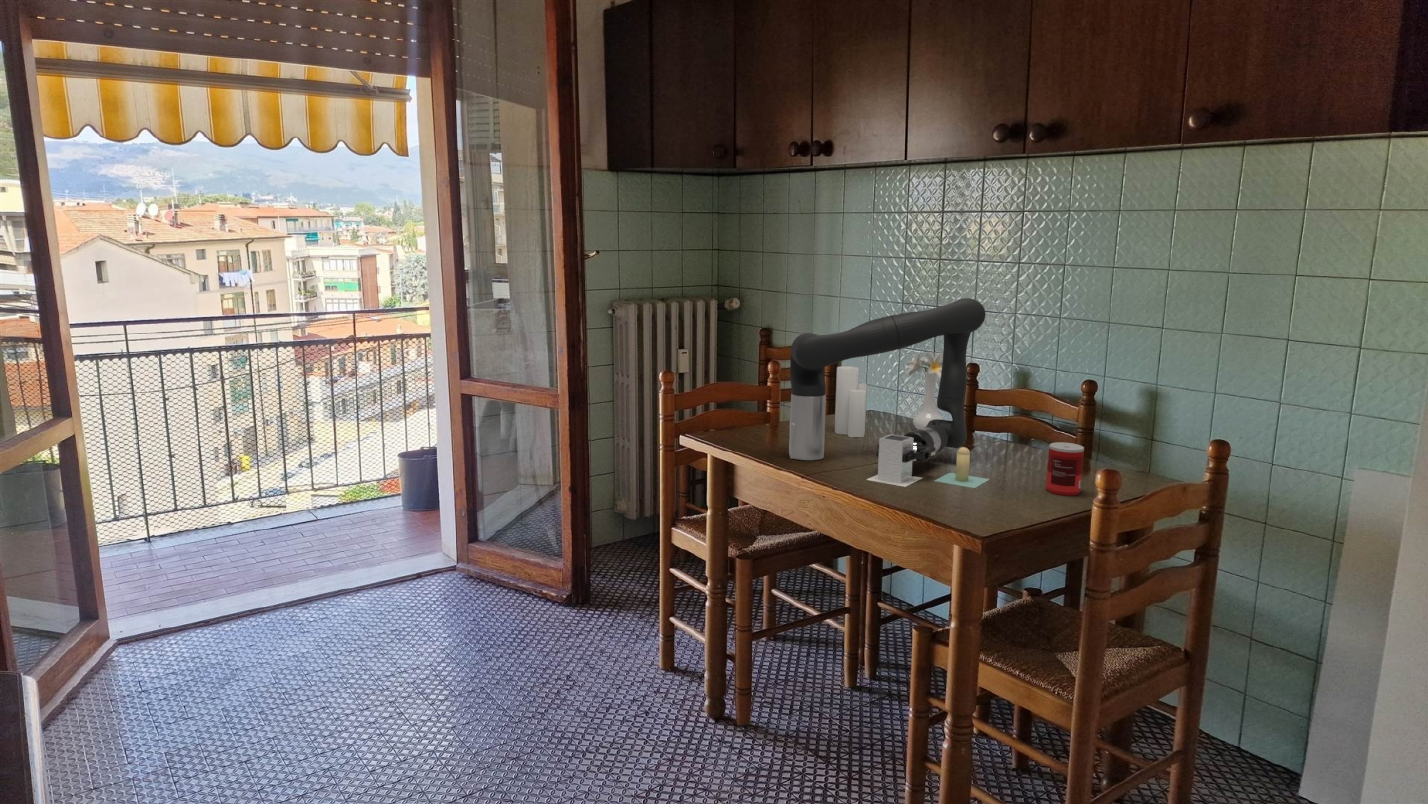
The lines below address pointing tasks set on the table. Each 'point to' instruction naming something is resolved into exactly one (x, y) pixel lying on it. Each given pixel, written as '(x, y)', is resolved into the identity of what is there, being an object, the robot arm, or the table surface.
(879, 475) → the white sleeve
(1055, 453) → the canned food
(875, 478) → the stand
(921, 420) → the flower vase
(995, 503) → the table surface
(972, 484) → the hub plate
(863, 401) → the white joined cylinders
